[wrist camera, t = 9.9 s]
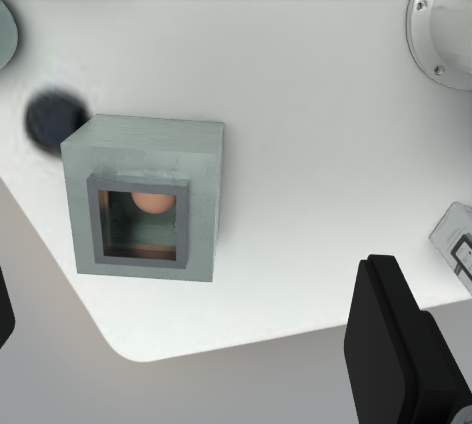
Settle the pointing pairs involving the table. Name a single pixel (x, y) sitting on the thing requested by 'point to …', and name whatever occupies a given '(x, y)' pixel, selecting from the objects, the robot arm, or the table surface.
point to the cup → (7, 35)
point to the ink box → (456, 241)
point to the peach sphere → (153, 202)
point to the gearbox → (144, 181)
